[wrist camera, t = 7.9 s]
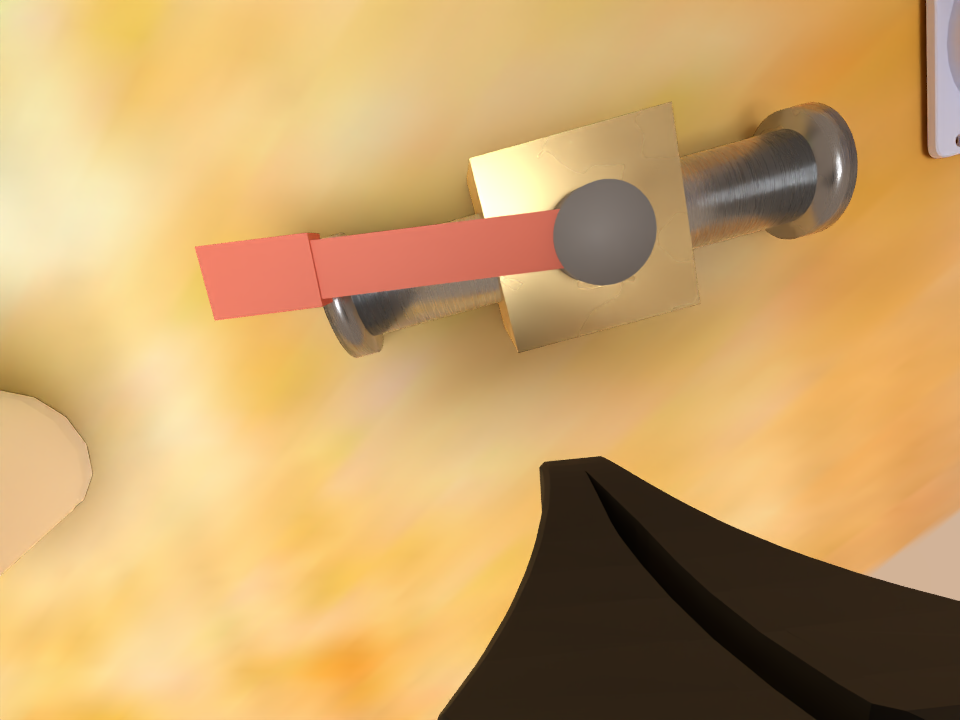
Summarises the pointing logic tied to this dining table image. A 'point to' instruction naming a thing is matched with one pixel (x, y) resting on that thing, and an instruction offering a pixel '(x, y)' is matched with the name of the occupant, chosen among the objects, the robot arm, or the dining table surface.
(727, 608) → the robot arm
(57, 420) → the foam cup
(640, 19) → the dining table surface
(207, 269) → the lever
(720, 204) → the valve body
